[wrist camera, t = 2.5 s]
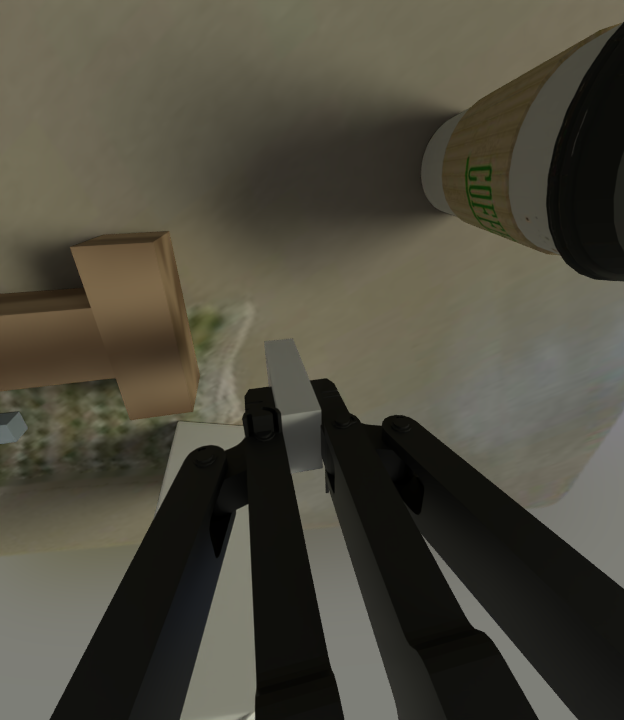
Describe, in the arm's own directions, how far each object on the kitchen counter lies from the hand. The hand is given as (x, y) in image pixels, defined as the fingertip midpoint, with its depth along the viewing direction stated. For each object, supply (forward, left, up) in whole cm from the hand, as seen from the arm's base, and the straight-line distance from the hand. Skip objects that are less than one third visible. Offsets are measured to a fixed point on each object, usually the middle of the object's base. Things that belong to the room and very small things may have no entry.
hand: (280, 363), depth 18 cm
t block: (0, -12, -9) cm, 15 cm away
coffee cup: (-9, +15, -9) cm, 20 cm away
